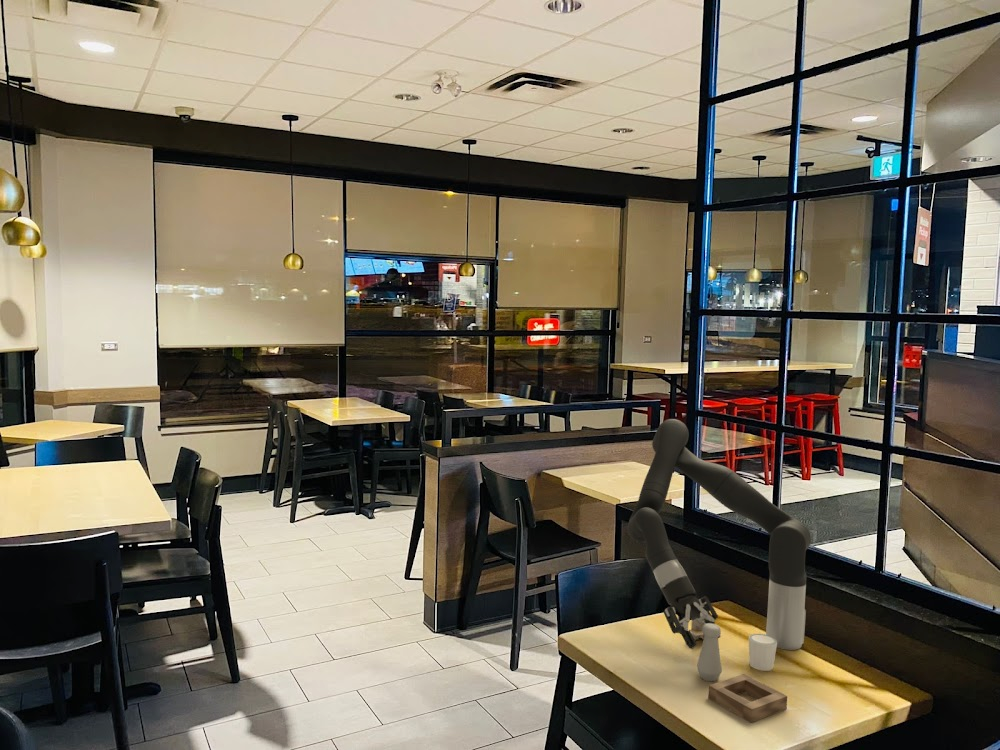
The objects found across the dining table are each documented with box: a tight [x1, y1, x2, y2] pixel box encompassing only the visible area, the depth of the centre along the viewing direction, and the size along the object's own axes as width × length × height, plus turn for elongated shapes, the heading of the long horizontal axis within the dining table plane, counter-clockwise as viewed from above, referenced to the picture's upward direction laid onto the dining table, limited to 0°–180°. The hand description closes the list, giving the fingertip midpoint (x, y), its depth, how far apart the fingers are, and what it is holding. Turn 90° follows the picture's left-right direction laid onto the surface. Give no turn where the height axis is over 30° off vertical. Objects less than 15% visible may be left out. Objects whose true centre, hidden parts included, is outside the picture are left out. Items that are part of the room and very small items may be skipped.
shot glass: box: [748, 633, 778, 672], centre depth 188 cm, size 7×7×7 cm
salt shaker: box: [696, 623, 723, 682], centre depth 180 cm, size 6×6×13 cm
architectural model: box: [688, 613, 706, 641], centre depth 201 cm, size 3×7×7 cm, turn 116°
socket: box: [707, 673, 788, 723], centre depth 169 cm, size 12×12×3 cm
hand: (705, 642), depth 182 cm, fingers open, 8 cm apart
